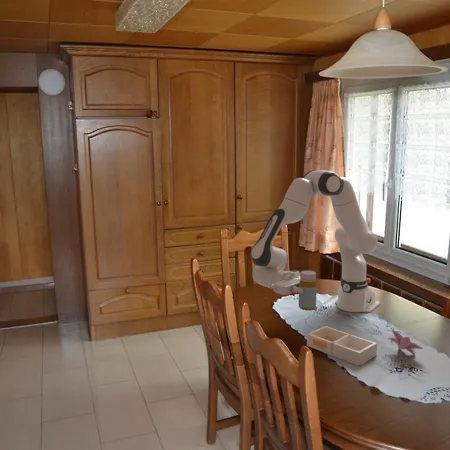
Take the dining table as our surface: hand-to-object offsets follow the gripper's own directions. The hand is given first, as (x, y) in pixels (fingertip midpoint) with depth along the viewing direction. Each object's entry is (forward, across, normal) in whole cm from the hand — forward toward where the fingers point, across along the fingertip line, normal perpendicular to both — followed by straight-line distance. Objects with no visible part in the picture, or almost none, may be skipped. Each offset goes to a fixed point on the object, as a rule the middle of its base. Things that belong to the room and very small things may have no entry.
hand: (309, 288), depth 192 cm
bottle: (-1, 0, +8) cm, 9 cm away
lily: (+36, +11, +20) cm, 42 cm away
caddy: (+18, -3, +20) cm, 26 cm away
